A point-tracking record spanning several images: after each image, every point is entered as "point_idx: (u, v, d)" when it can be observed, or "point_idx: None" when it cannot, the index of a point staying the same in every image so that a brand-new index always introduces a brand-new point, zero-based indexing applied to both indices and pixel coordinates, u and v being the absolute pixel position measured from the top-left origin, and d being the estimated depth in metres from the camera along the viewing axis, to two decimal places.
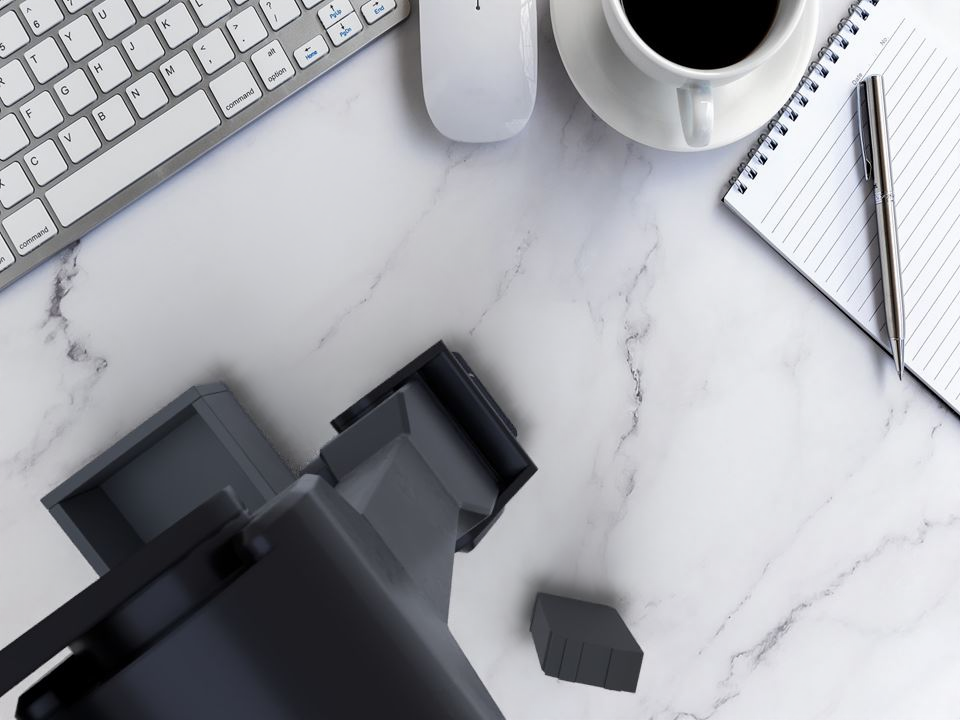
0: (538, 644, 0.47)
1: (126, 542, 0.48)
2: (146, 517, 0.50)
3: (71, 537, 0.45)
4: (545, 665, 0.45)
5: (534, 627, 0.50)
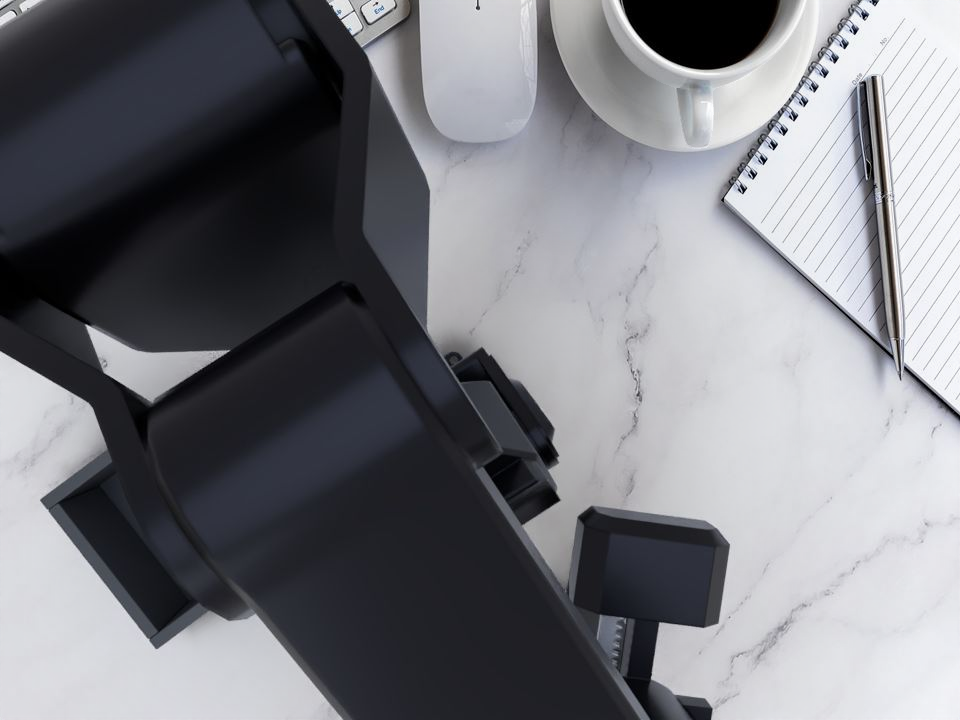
0: None
1: (126, 542, 0.48)
2: None
3: (71, 537, 0.45)
4: None
5: None
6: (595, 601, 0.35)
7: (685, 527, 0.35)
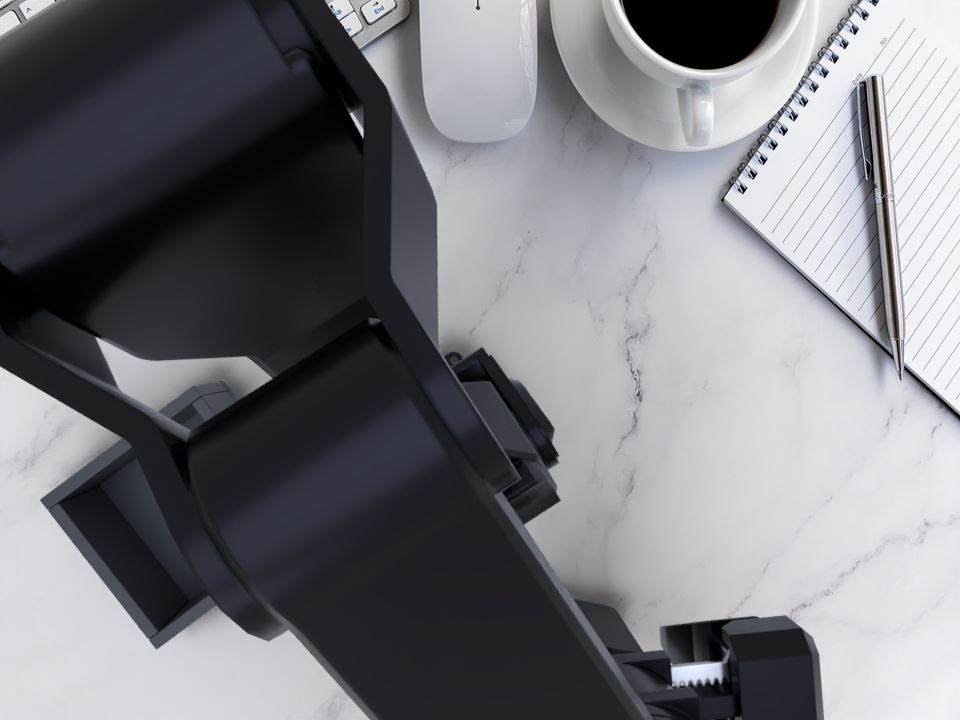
0: None
1: (126, 542, 0.48)
2: (146, 517, 0.50)
3: (71, 537, 0.45)
4: None
5: None
6: None
7: None
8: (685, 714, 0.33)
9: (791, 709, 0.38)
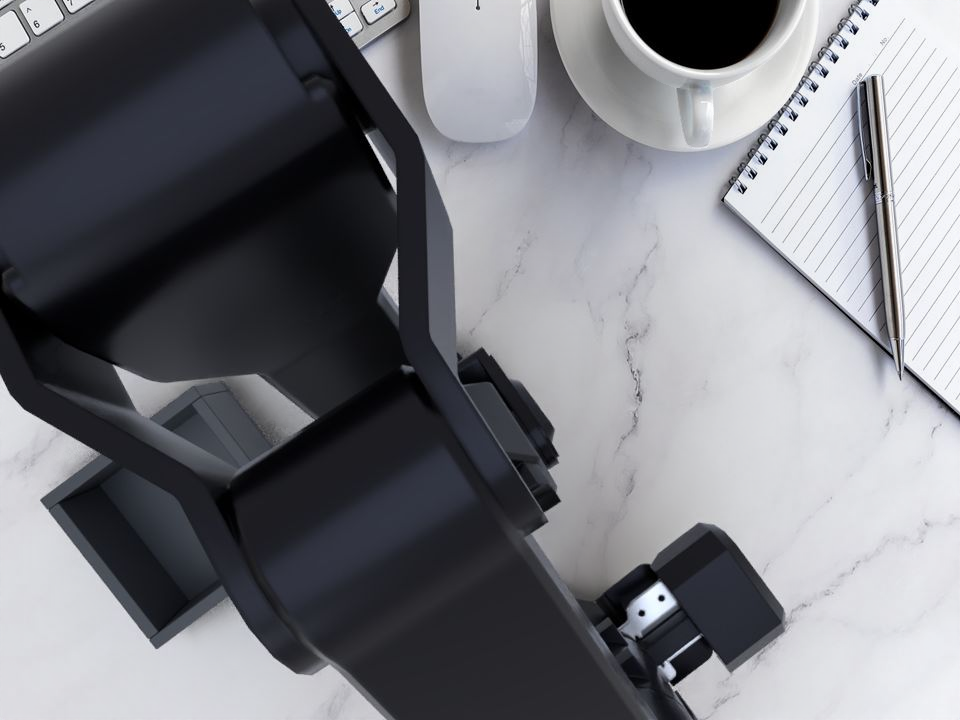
0: None
1: (126, 542, 0.48)
2: (146, 517, 0.50)
3: (71, 537, 0.45)
4: None
5: None
6: None
7: None
8: (630, 675, 0.35)
9: (737, 602, 0.40)
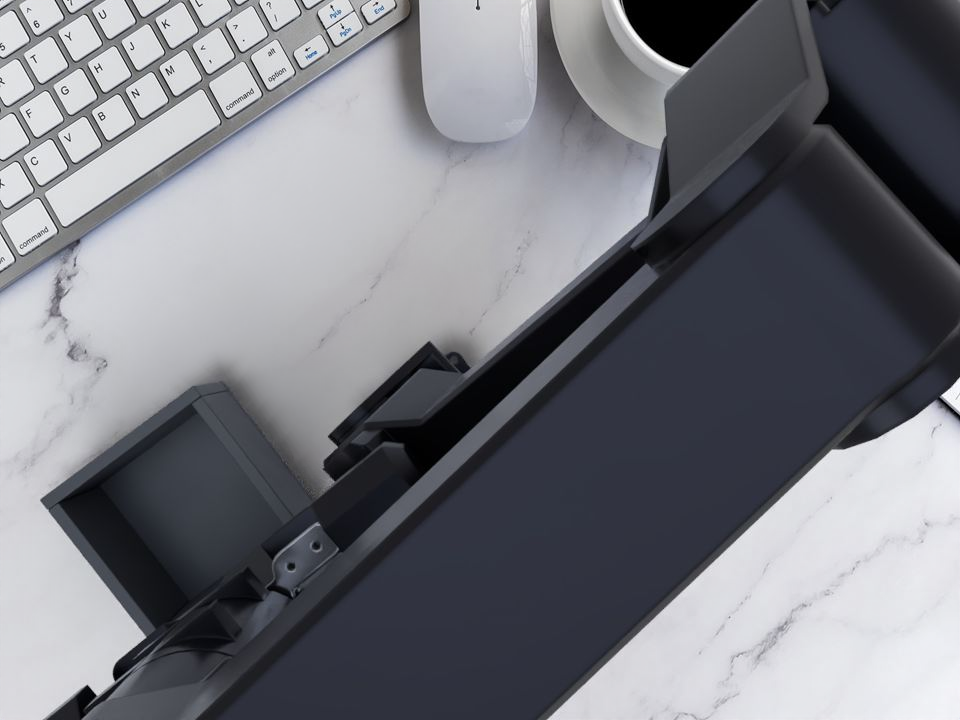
0: None
1: (126, 542, 0.48)
2: (146, 517, 0.50)
3: (71, 537, 0.45)
4: None
5: None
6: None
7: None
8: (206, 635, 0.26)
9: None
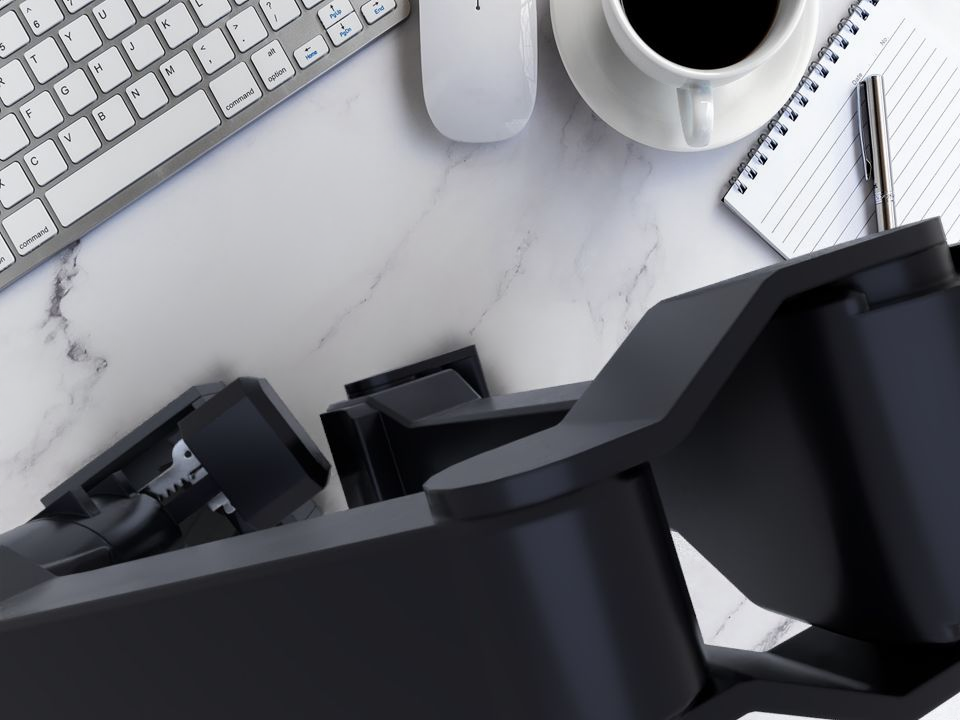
0: None
1: None
2: None
3: None
4: None
5: None
6: None
7: None
8: (67, 512, 0.32)
9: (258, 453, 0.37)
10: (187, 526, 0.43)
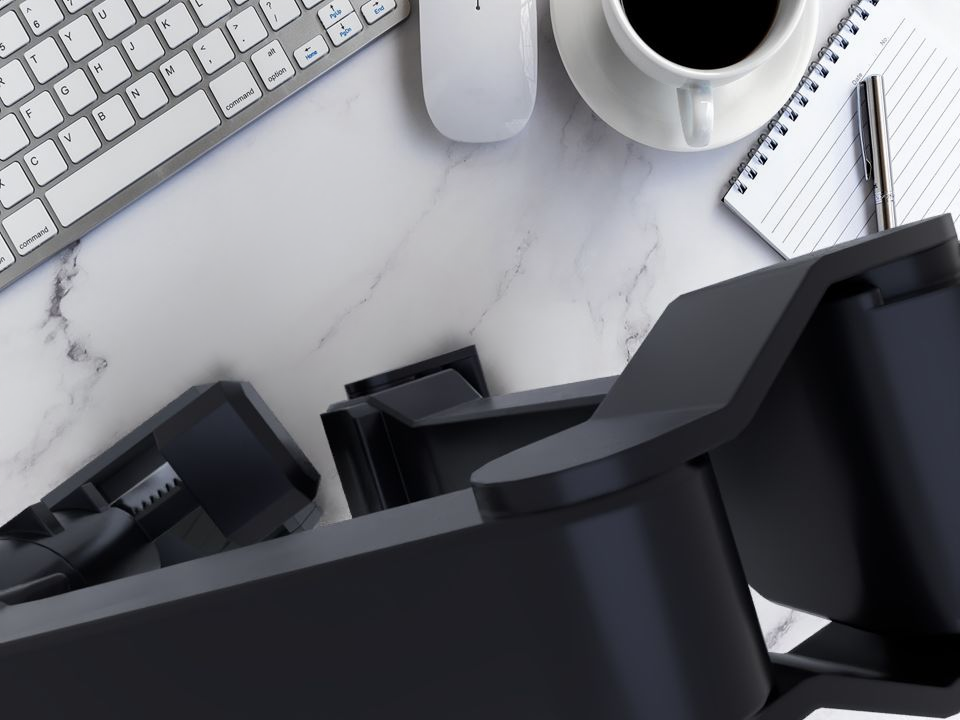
0: None
1: None
2: None
3: None
4: None
5: None
6: None
7: None
8: (27, 530, 0.29)
9: (240, 463, 0.34)
10: (187, 526, 0.43)
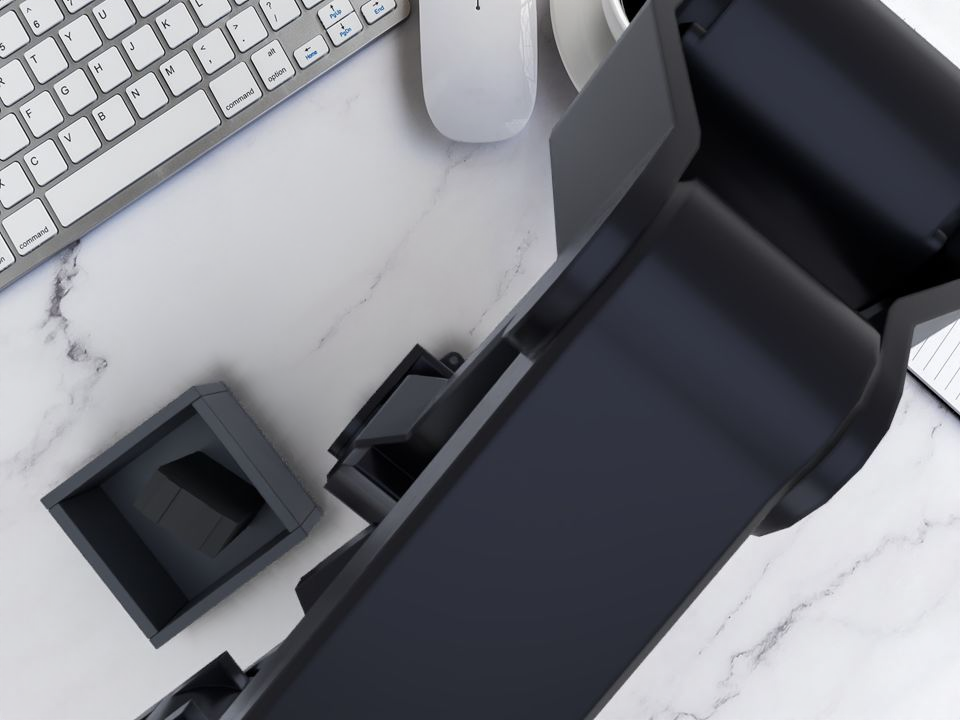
0: None
1: (126, 542, 0.48)
2: (146, 517, 0.50)
3: (71, 537, 0.45)
4: None
5: None
6: None
7: None
8: None
9: None
10: (187, 526, 0.43)
